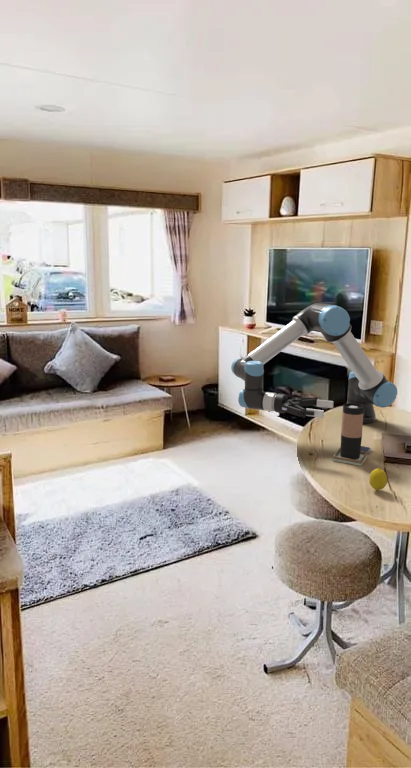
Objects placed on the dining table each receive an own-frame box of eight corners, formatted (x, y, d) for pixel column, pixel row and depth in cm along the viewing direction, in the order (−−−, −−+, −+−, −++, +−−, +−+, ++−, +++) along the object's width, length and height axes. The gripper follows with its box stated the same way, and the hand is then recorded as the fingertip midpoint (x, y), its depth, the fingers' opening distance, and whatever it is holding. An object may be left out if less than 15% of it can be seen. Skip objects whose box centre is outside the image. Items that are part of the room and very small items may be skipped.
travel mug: (335, 455, 213) (338, 405, 208) (347, 451, 217) (351, 401, 213) (352, 461, 207) (356, 409, 202) (364, 456, 212) (368, 406, 207)
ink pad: (345, 446, 225) (345, 442, 225) (370, 450, 221) (370, 447, 221) (340, 451, 219) (340, 448, 219) (366, 456, 214) (366, 453, 214)
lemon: (366, 491, 184) (368, 468, 182) (371, 485, 188) (373, 463, 186) (383, 495, 181) (385, 472, 179) (387, 489, 185) (390, 467, 183)
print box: (339, 451, 219) (340, 447, 219) (367, 456, 214) (367, 452, 214) (332, 460, 210) (332, 455, 210) (360, 465, 205) (361, 461, 205)
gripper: (286, 403, 235) (336, 410, 225) (264, 420, 213) (318, 428, 204) (286, 386, 233) (337, 392, 223) (264, 401, 212) (319, 408, 202)
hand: (328, 409), depth 214 cm, fingers open, 13 cm apart
